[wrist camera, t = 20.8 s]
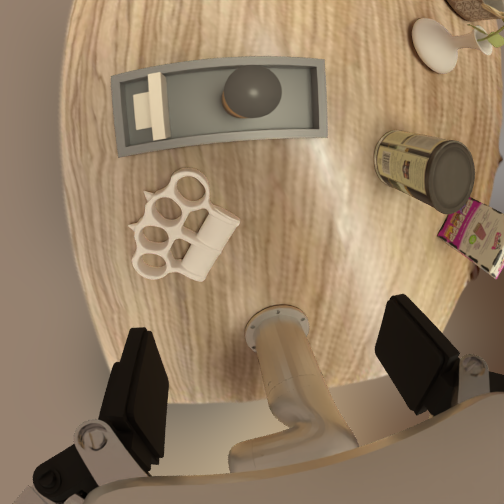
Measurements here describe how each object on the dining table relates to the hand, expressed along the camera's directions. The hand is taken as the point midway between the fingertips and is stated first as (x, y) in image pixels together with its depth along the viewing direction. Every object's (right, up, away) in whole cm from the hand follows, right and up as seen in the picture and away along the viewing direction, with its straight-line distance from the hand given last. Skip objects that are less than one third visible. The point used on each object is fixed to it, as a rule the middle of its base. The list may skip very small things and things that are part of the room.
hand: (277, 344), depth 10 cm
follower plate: (-14, +22, +22) cm, 35 cm away
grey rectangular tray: (-5, +24, +24) cm, 35 cm away
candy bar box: (+42, +11, +39) cm, 58 cm away
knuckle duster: (-12, +8, +32) cm, 35 cm away
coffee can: (+24, +20, +32) cm, 44 cm away
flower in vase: (+30, +41, +22) cm, 56 cm away
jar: (-2, +24, +24) cm, 34 cm away
